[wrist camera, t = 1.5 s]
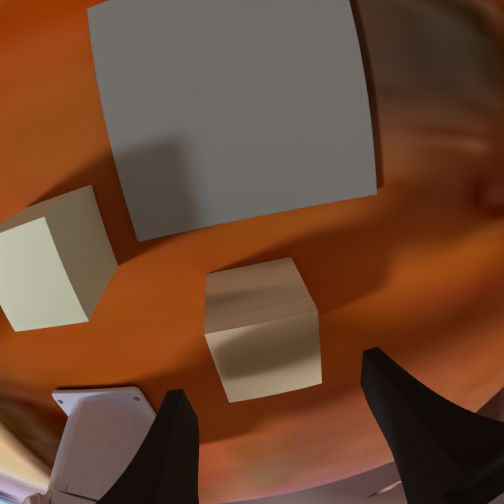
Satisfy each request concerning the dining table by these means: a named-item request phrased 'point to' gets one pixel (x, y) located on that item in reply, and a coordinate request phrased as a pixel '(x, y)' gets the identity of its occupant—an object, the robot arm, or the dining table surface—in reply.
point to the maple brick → (262, 330)
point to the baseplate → (231, 108)
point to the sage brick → (54, 262)
